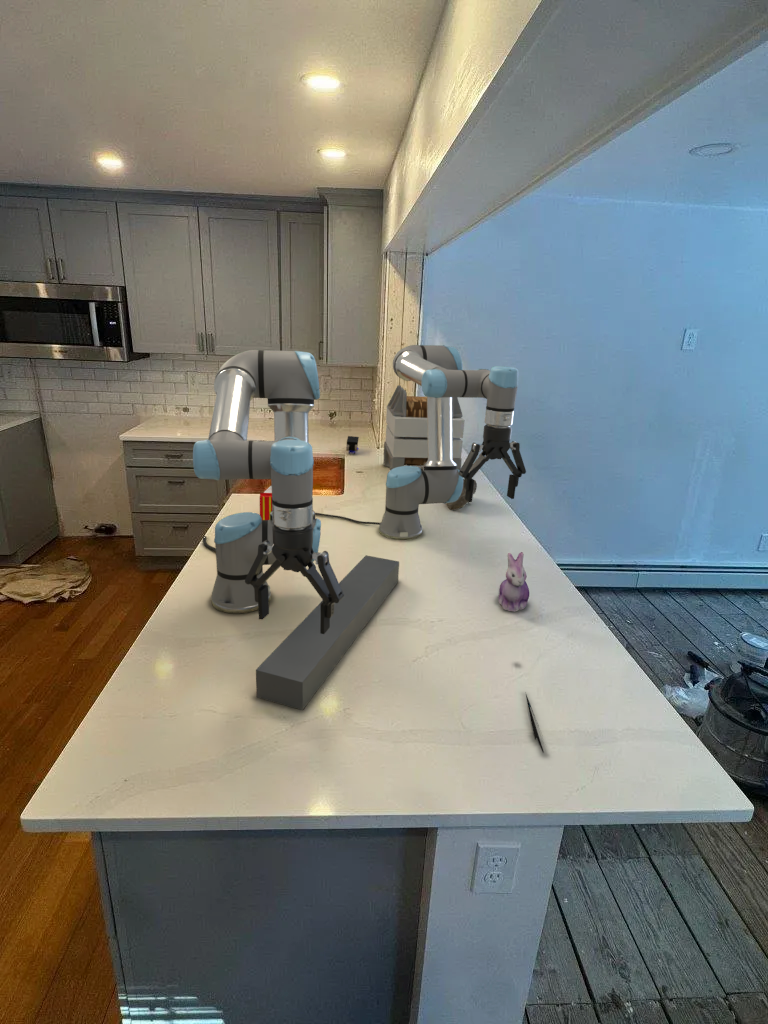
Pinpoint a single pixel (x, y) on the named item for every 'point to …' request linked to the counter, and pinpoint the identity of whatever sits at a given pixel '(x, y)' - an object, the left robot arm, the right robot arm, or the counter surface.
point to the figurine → (514, 585)
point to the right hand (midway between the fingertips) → (489, 499)
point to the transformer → (415, 431)
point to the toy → (266, 504)
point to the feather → (534, 723)
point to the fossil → (461, 499)
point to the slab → (325, 636)
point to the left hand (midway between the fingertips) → (293, 623)
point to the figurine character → (352, 444)
